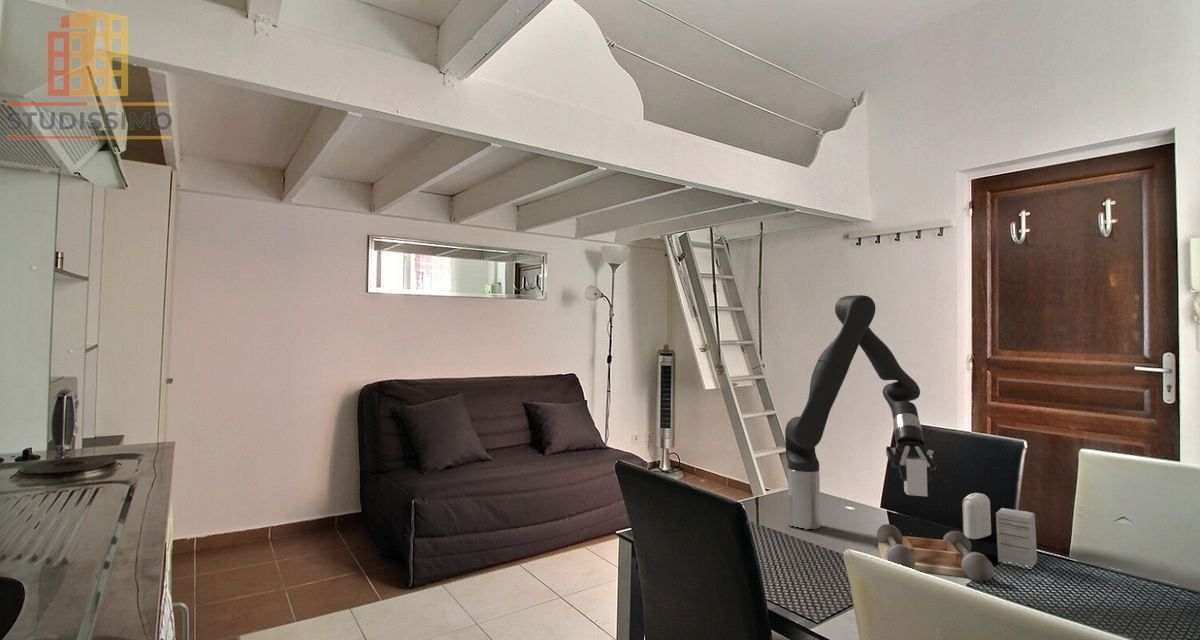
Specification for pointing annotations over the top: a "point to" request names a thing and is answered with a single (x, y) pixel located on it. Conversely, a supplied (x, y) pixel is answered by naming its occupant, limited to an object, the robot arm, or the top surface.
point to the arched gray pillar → (976, 516)
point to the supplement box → (1016, 537)
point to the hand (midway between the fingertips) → (916, 479)
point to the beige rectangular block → (915, 476)
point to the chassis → (934, 554)
